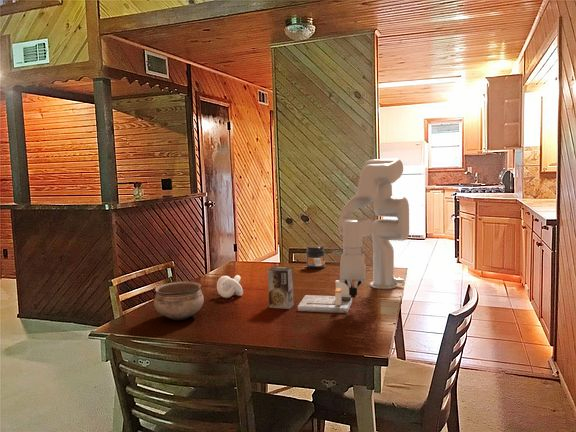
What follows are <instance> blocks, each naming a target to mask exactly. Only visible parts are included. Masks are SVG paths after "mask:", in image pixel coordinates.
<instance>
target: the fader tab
mask: <svg viewBox="0 0 576 432" xmlns="http://www.w3.org/2000/svg"><path fill="white" fill-rule="evenodd" d="M334 293H335V294H334V296H335V305H341V303H342V288H336V287H335V291H334Z"/></svg>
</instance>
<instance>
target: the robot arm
mask: <svg viewBox="0 0 576 432" xmlns="http://www.w3.org/2000/svg"><path fill="white" fill-rule="evenodd" d="M403 164H404V163H403V162H402V161H401V159H400V158H379V159H377V158H375V159H369V160H366V161H365V162H364V164H363V167H362V169H361V171H360V176H359V179H358V185H357V188H356V192H355V195H353V196H352V197H351V198H350V199H349V200H348V201H347V202H346V203H345V204H344V205H343V207H342V209H341V211H340V215H339V219H338V225H337V226H338V232H339V233H340V235H342V251H343V252H342V254H341V255H340V265H339V281H340V282H342V283H345V284H346V285H347V286H348V287H349V295H351V298H352V299H355V298H356V296H358V287H359V286H360V285H361V284H366V283H367V281H368V280H367V264H366V255H365V254H364V253H367V248H364V247H363V237H369V236H371V240H372V241H371V242H372V275H373V277H372V281H371V282H370V283H369V286H370V287H371V288H374V289H379V290H388V289H389V290H391V289H394V288H397V287H398V284H404V278H400V277H398V278H397V277H395V273H394V272H395V269H394V267H395V265H394V264H395V263H394V262H395V259H394V256H395V255H394V254H395V253H394V251H395V250H394V246H393V245H392V243H391V242H390V241H397V242H398V241H400V242H401V241H406V240H408V238H409V235H410V204H409V201H408V199H407V198H406V196H401V195H393V186H392V184H394V183H395V182H396V181H398V179H400V178H401V177H402V176H403V175H402V174H403V172H404V165H403ZM372 203H373V212H374V215H376V216H377V217H388V218H397V219H388V218H387V219H385V218H383V219H381V218H380V219H379V218H378V219H375V220H372V219H371V218H369V217H354V216H353V217H352V215H353V213H354V212H355V211H357V210H359V209H361V208H363V207H366V206H369V205H370V204H372ZM351 281H354V285H353V283H352V282H351Z"/></svg>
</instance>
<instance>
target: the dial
mask: <svg viewBox="0 0 576 432" xmlns="http://www.w3.org/2000/svg"><path fill="white" fill-rule="evenodd" d="M339 280H340V279H339ZM339 280H338V279H336V280H335V289H336V288H342V300H349V299H351V295H349V287H348V286H347V285H346V284H345V283H342V282H340V281H339ZM352 281H353V280H351V282H352Z"/></svg>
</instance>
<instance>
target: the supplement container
mask: <svg viewBox="0 0 576 432" xmlns="http://www.w3.org/2000/svg"><path fill="white" fill-rule="evenodd" d="M305 253H306V256H305V257H306V258H305V259H306V268H308V269H310V270H321V269H323V268H325V267H326V259H325V258H326V257H325V256H326V255H325V254H326V252H325V246H324V245H320V244H314V245H312V244H311V245H307V246H306V252H305Z"/></svg>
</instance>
